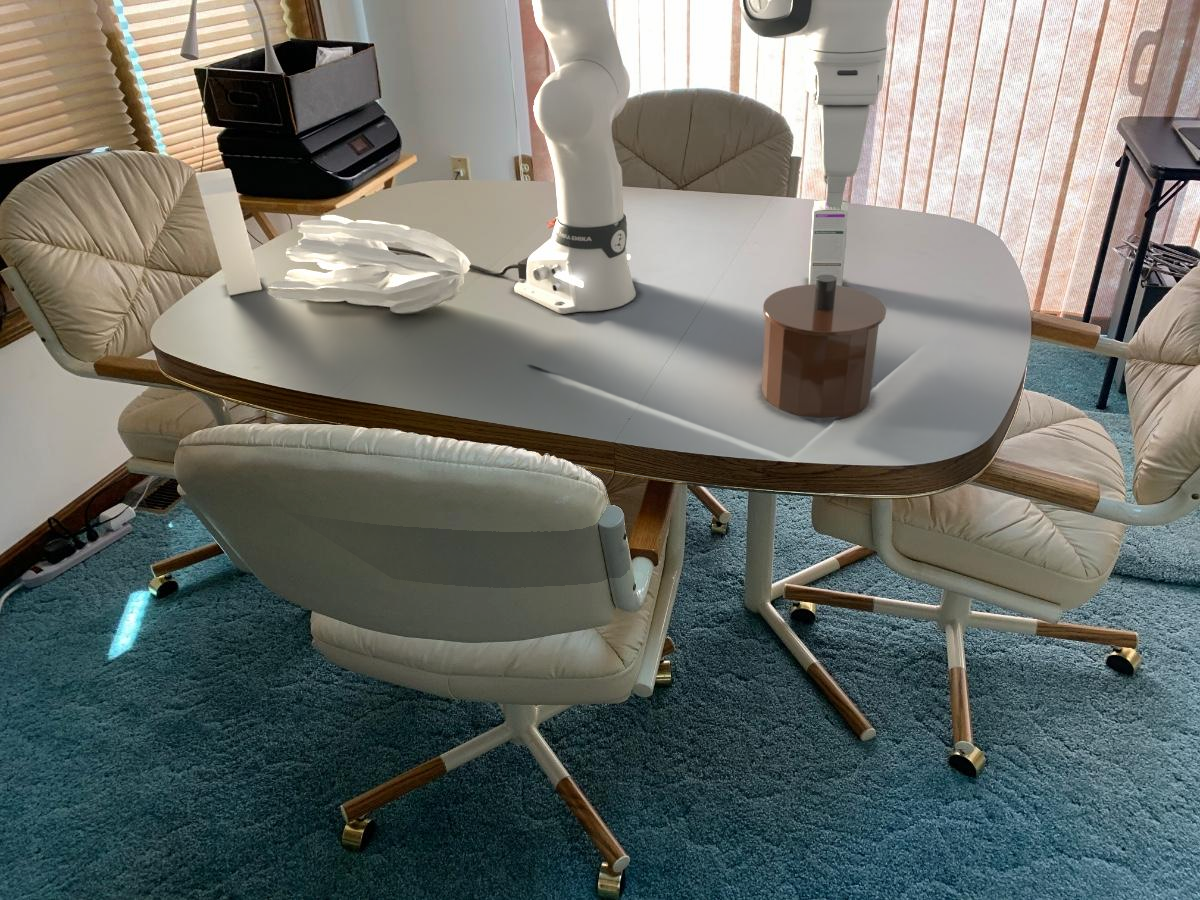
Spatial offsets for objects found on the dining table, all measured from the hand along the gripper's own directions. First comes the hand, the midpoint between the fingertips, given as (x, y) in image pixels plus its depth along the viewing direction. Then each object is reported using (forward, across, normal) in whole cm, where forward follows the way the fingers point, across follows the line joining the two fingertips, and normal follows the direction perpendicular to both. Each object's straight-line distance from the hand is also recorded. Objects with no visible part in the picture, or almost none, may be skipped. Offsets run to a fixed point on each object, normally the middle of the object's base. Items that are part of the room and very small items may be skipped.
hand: (832, 193), depth 112 cm
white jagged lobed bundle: (+29, -26, -76) cm, 85 cm away
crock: (+28, 0, 0) cm, 28 cm away
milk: (+30, -33, -105) cm, 114 cm away
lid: (+16, 0, 0) cm, 16 cm away
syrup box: (+28, -40, +3) cm, 49 cm away
